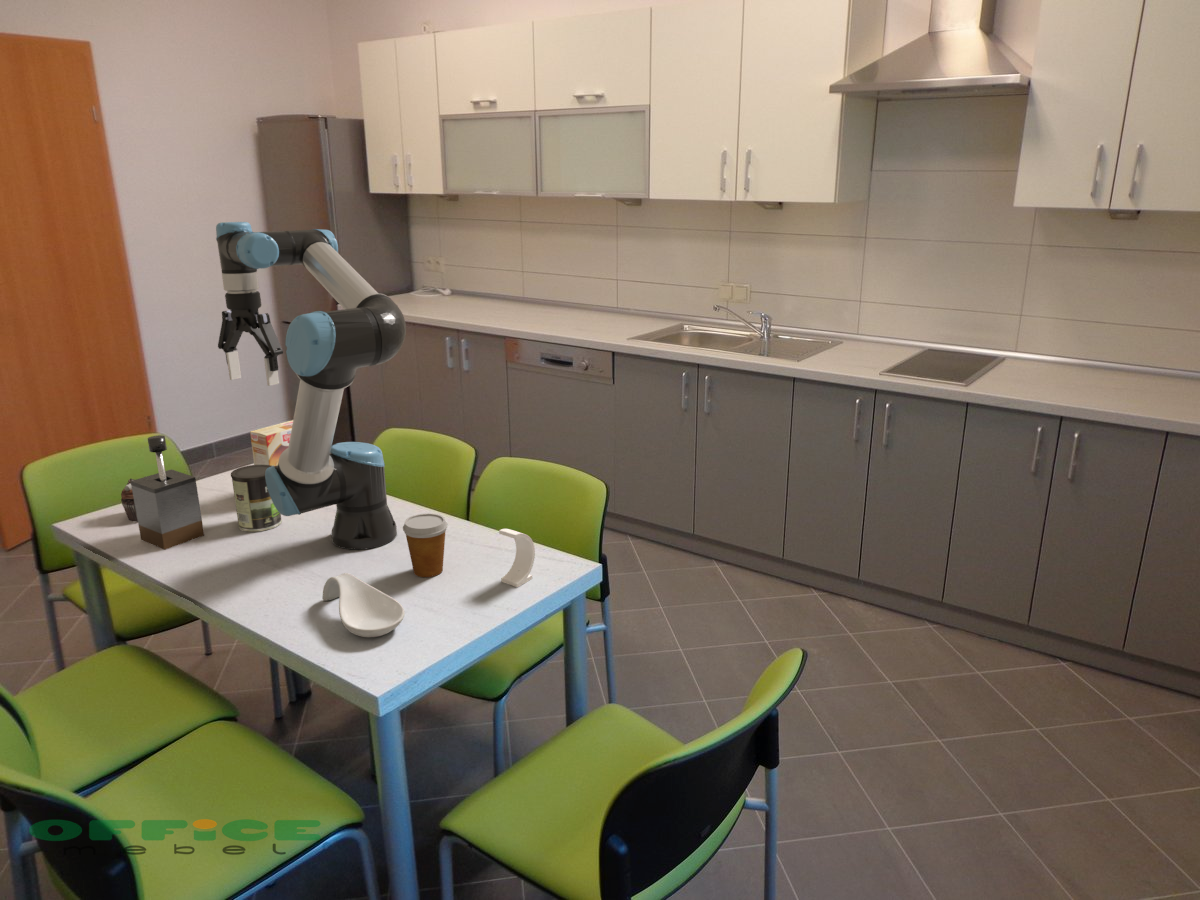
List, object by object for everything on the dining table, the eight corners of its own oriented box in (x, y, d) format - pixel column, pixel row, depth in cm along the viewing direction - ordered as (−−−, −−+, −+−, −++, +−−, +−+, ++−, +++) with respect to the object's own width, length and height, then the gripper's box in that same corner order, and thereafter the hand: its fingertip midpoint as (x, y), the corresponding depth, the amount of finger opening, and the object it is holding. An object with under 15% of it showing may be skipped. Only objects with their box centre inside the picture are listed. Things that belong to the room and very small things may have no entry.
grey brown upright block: (204, 535, 207) (195, 477, 202) (164, 549, 199) (154, 489, 194) (180, 526, 212) (171, 469, 208) (141, 540, 204) (130, 481, 200)
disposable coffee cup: (457, 565, 191) (455, 515, 188) (436, 583, 183) (433, 532, 179) (420, 559, 194) (416, 510, 191) (397, 577, 186) (393, 526, 182)
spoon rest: (417, 631, 164) (414, 597, 162) (361, 653, 157) (357, 618, 154) (357, 589, 181) (354, 558, 179) (304, 607, 173) (300, 575, 171)
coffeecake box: (274, 506, 225) (265, 435, 219) (257, 500, 229) (248, 431, 223) (320, 489, 237) (313, 421, 231) (303, 484, 241) (295, 417, 235)
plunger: (192, 518, 205) (179, 436, 199) (164, 527, 200) (149, 443, 193) (175, 512, 209) (162, 431, 203) (147, 521, 203) (133, 438, 197)
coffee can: (288, 516, 219) (282, 464, 214) (272, 532, 209) (265, 478, 205) (248, 516, 219) (241, 463, 215) (230, 532, 209) (223, 477, 205)
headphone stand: (501, 581, 184) (499, 530, 180) (519, 571, 188) (517, 521, 185) (517, 587, 181) (515, 535, 177) (535, 577, 186) (534, 525, 182)
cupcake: (125, 526, 213) (118, 488, 210) (124, 513, 221) (117, 476, 218) (167, 518, 217) (161, 481, 214) (165, 506, 225) (159, 470, 222)
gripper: (292, 292, 194) (302, 383, 200) (221, 287, 206) (233, 373, 212) (264, 295, 188) (276, 390, 194) (193, 290, 200) (207, 379, 206)
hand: (254, 381), depth 203 cm, fingers open, 13 cm apart
